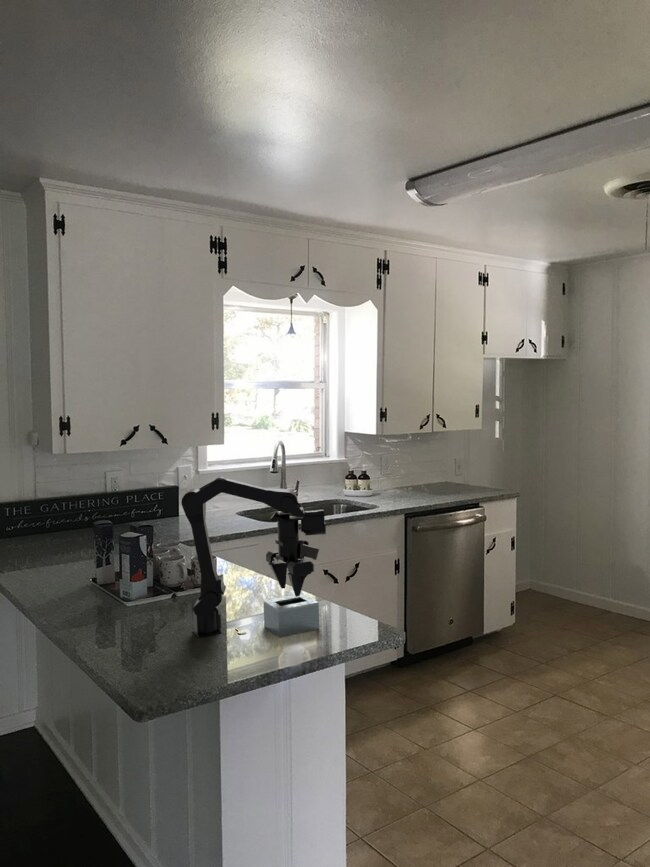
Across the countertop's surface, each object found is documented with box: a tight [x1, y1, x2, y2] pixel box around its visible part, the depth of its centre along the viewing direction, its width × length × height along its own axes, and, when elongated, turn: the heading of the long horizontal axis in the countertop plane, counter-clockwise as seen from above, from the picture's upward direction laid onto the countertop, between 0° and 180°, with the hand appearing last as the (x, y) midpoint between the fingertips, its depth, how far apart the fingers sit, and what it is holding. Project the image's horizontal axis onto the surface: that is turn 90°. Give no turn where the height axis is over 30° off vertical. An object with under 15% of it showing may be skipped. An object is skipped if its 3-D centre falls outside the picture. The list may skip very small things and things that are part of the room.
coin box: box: [263, 593, 320, 638], centre depth 202 cm, size 12×10×7 cm
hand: (290, 592), depth 202 cm, fingers open, 9 cm apart
